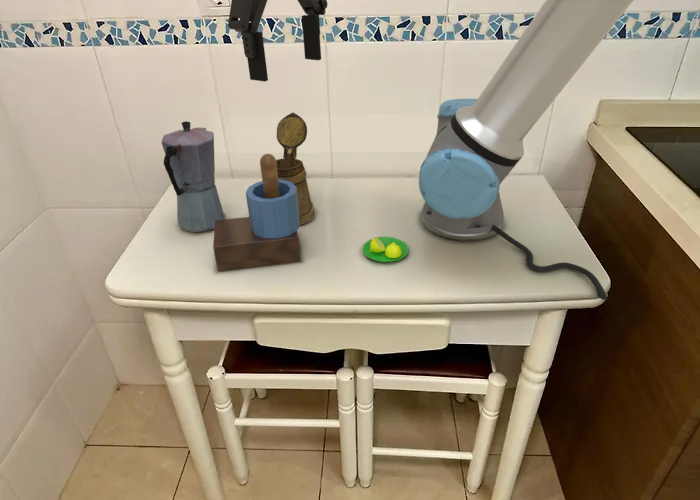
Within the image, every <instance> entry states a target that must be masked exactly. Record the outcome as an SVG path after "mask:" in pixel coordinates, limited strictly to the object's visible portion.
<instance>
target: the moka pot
mask: <svg viewBox="0 0 700 500" xmlns="http://www.w3.org/2000/svg"><path fill="white" fill-rule="evenodd" d="M180 123H181V126H182V129H179V130H175V131H172V132H169V133H166V134H164V135H163V137H162V139H161V146H162V149H163V152H164V157H163V166H164V169H165V171H166V173H167V175H168V178H169V180H170V183H171V185H172V187H173V190H174V192H175V195H176V209H177V211H176V213H177V214H176V215H177V217H176V218H177V224H178V226H179V228H180V229H182V230H184V231H187V232H191V233H197V232H198V233H202V232H206V231H211V230H214V229H215V220H224V219H226V217H225V214H224V210H223V206H222V204H221V200H220V195H219V192H218V188H217V186H216V184H215V183H216V178H215V172H216V169H215V168H216V167H215V166H216V164H215V133H214V132H213V131H210V130H207V128H206V127H199V126H198V127H193V128H191V122H190V121H186V120H185V121H182V122H180Z"/></svg>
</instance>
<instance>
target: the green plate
mask: <svg viewBox="0 0 700 500" xmlns="http://www.w3.org/2000/svg"><path fill="white" fill-rule="evenodd" d="M362 252H363V254H364V255H365V256H366V257H367V258H369V259H370V260H372V261H373V260H374V261H377V262H383V263H389V262H390V263H391V262H395V261H398V260H401V259H403V258H405V257H406V256H407V255H408V253H409V247H408V244H407V243H406V242H405V241H403V240H401V239H399V238H396V237H391V236H378V237H376V236H373V238H371V239H369V240H368V241H366V242H365V243H364V244H363V246H362Z"/></svg>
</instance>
